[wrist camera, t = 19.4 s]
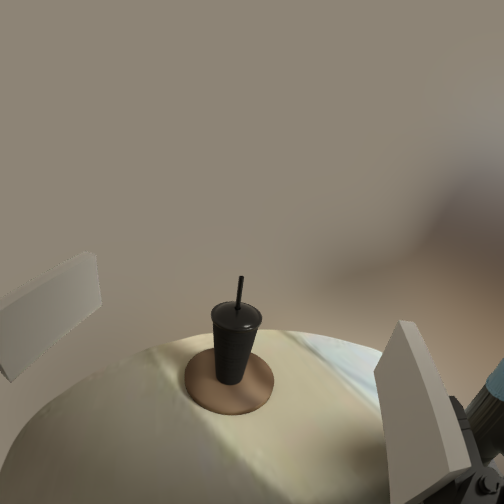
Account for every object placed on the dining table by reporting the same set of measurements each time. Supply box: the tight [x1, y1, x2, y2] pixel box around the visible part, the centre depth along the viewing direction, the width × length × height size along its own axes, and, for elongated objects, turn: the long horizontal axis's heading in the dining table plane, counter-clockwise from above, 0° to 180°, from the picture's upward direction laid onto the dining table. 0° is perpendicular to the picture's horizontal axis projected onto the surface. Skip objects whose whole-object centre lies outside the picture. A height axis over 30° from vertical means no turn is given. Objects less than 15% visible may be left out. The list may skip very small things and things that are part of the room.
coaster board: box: [185, 348, 274, 415], centre depth 45 cm, size 16×16×2 cm
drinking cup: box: [211, 276, 262, 385], centre depth 41 cm, size 8×8×20 cm
